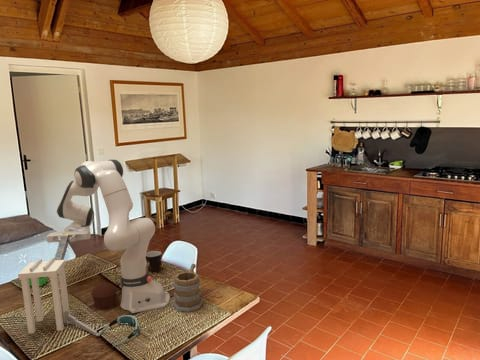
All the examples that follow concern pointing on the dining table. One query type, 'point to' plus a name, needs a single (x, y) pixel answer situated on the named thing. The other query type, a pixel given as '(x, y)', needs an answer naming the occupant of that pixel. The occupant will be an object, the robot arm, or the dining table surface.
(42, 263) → the pin stand
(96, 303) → the muffin
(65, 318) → the caliper
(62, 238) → the pin
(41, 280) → the fruit basket
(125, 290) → the robot arm
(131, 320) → the sunglasses
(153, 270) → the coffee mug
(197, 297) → the tankard
